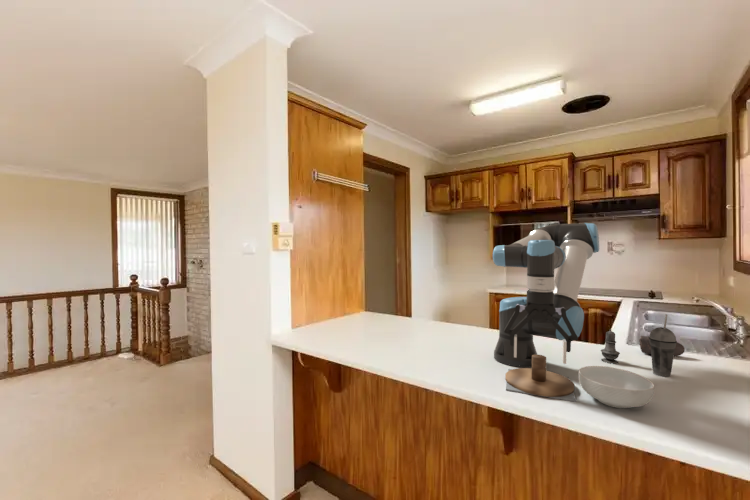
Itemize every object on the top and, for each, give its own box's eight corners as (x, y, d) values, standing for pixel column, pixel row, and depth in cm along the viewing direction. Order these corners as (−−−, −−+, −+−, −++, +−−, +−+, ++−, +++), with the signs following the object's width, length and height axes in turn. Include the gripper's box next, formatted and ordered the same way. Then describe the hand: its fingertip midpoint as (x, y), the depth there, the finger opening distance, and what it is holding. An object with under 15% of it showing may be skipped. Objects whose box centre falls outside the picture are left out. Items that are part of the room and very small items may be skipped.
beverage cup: (642, 370, 119) (643, 312, 119) (661, 370, 120) (663, 312, 119) (661, 378, 112) (662, 316, 111) (682, 378, 112) (683, 316, 112)
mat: (505, 390, 102) (505, 389, 102) (508, 369, 119) (508, 368, 119) (576, 401, 95) (576, 400, 95) (568, 378, 112) (568, 377, 112)
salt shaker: (622, 364, 125) (623, 331, 125) (604, 363, 126) (605, 330, 126) (615, 359, 131) (615, 327, 130) (597, 358, 132) (598, 326, 131)
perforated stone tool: (681, 355, 136) (681, 337, 136) (688, 359, 131) (688, 341, 131) (635, 351, 141) (635, 333, 141) (639, 354, 136) (640, 337, 136)
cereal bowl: (583, 409, 91) (584, 382, 91) (573, 385, 106) (574, 362, 106) (664, 422, 84) (664, 393, 84) (641, 395, 100) (642, 370, 100)
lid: (503, 389, 102) (503, 361, 102) (507, 368, 119) (507, 344, 119) (578, 401, 94) (578, 371, 94) (570, 377, 111) (570, 351, 111)
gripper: (496, 289, 108) (495, 357, 108) (589, 294, 98) (588, 369, 98) (497, 286, 115) (497, 350, 115) (585, 290, 105) (584, 360, 105)
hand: (539, 359), depth 107 cm, fingers open, 13 cm apart
